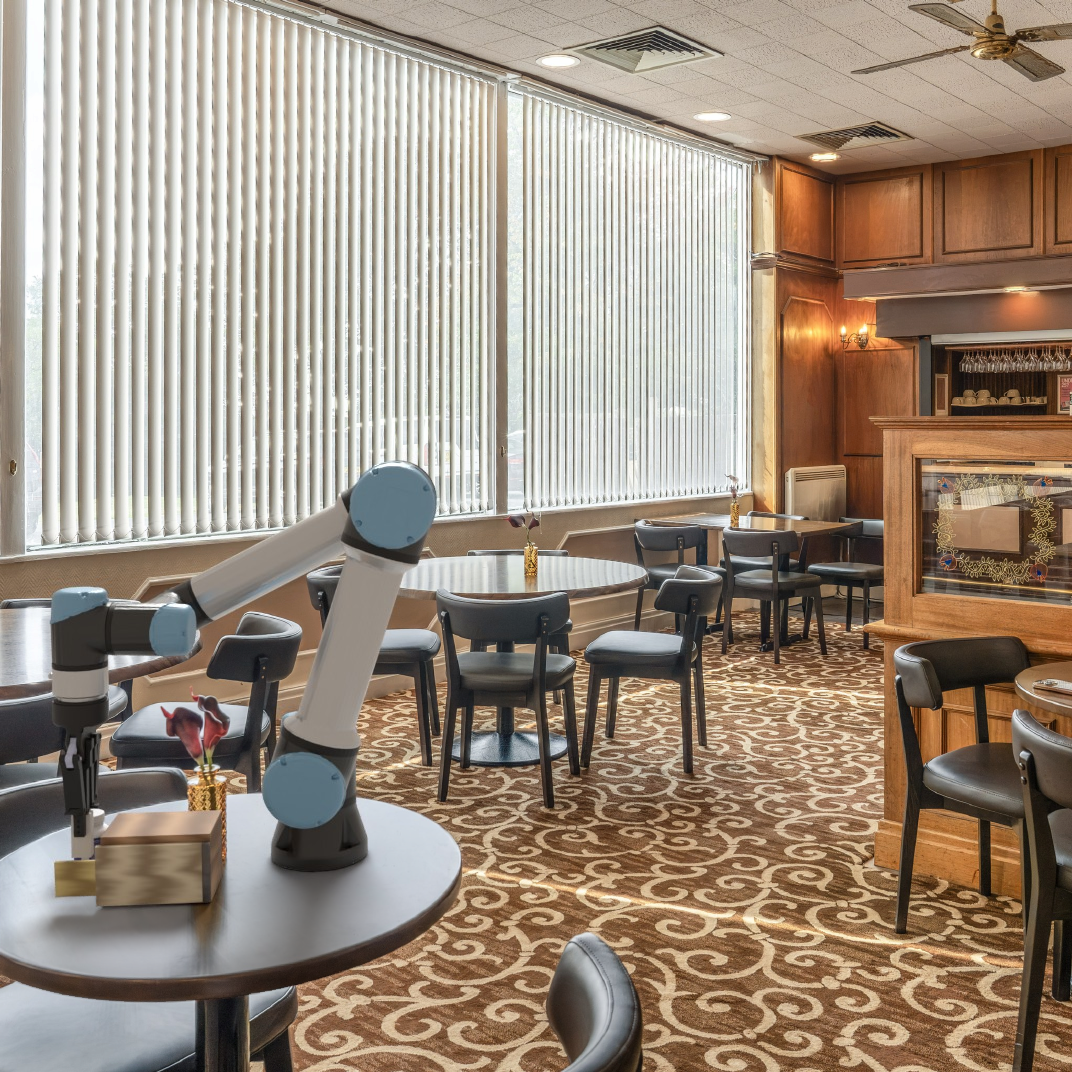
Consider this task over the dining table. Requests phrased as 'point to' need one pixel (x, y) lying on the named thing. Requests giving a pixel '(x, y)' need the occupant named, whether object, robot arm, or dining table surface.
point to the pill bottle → (97, 829)
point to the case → (171, 833)
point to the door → (139, 874)
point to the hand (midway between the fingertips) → (82, 855)
